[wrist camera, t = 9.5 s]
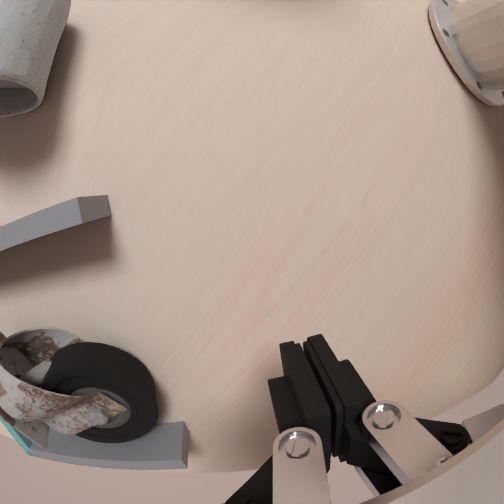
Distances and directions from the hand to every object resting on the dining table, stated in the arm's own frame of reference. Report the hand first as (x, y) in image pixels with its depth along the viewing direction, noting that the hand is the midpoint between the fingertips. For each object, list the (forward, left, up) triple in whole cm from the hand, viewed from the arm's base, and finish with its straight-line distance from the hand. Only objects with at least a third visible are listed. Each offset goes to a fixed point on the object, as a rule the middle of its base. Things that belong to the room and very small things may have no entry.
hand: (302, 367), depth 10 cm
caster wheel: (+14, +3, -7) cm, 16 cm away
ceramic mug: (+15, -20, -7) cm, 26 cm away
